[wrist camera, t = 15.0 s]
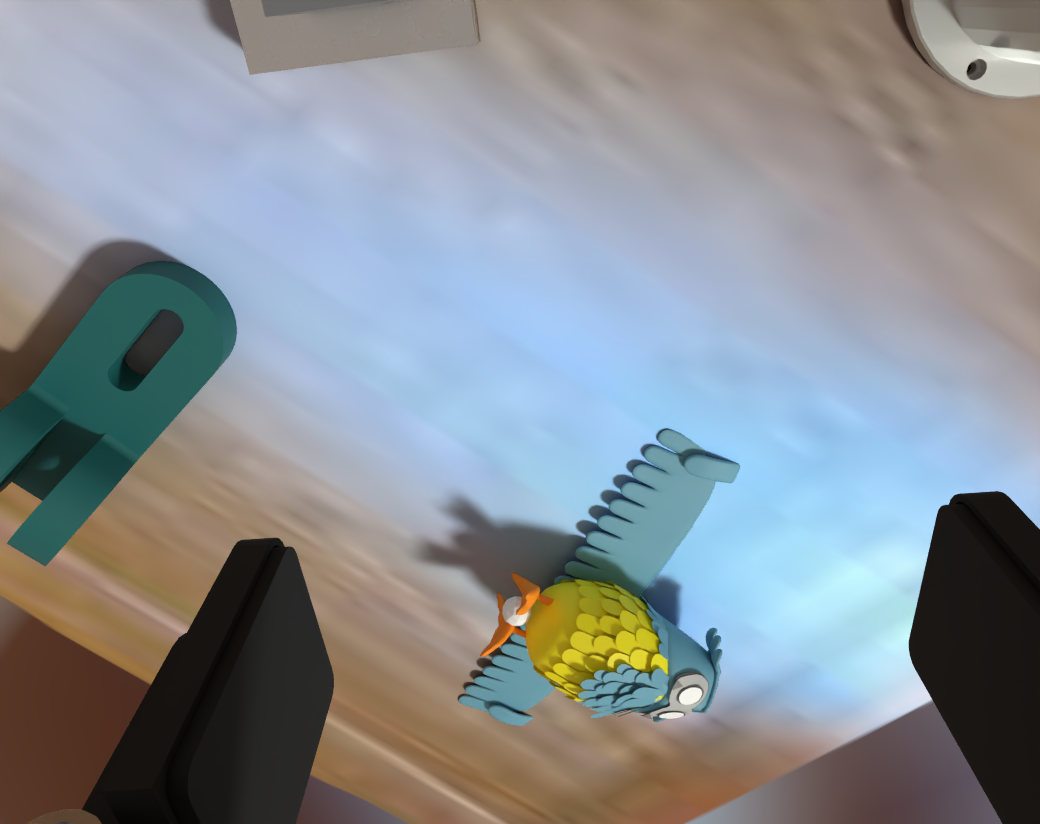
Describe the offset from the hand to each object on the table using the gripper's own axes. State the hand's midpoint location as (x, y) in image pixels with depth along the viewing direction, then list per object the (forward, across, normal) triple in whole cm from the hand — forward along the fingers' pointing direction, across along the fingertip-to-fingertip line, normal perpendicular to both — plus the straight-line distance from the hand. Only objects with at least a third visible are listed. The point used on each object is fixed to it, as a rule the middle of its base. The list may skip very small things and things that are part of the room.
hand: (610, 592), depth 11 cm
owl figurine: (+31, -1, +29) cm, 42 cm away
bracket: (+30, +26, +10) cm, 41 cm away
